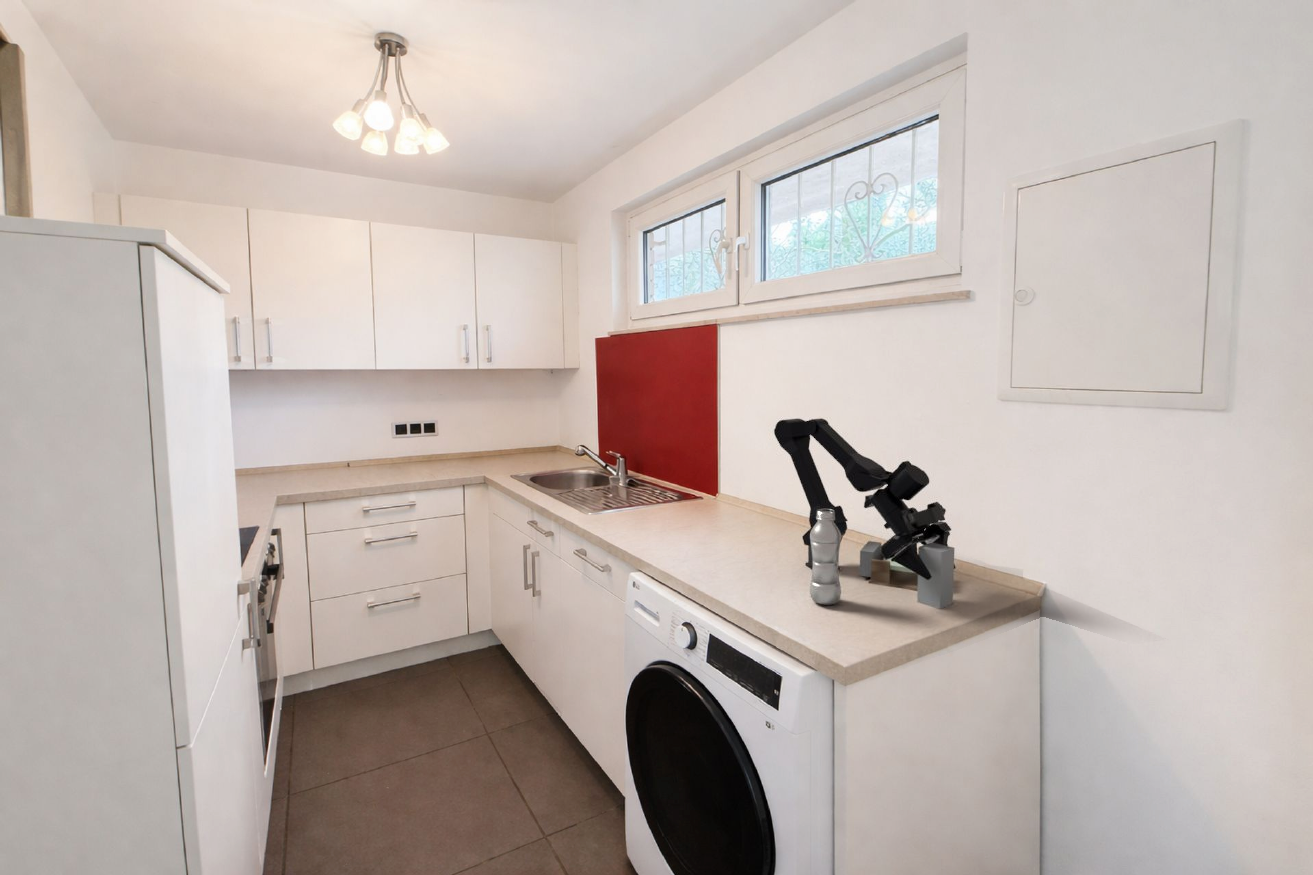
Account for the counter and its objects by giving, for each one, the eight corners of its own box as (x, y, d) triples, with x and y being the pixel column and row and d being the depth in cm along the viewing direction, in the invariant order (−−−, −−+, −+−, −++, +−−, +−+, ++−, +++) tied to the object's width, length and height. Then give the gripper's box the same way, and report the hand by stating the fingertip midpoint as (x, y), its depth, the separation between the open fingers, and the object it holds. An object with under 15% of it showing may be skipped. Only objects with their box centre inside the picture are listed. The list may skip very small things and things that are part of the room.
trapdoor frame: (868, 582, 141) (868, 559, 141) (879, 568, 151) (879, 546, 151) (942, 594, 133) (942, 569, 133) (948, 578, 143) (948, 555, 143)
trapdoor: (859, 575, 144) (860, 550, 143) (868, 564, 151) (868, 541, 151) (933, 586, 135) (933, 560, 135) (938, 574, 143) (938, 549, 142)
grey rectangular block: (917, 601, 129) (918, 546, 128) (930, 596, 132) (931, 542, 131) (939, 609, 125) (941, 552, 124) (952, 603, 128) (954, 547, 127)
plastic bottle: (846, 601, 131) (847, 509, 128) (832, 611, 126) (832, 515, 123) (818, 594, 135) (819, 505, 133) (803, 603, 130) (804, 511, 128)
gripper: (894, 497, 124) (945, 563, 116) (943, 485, 135) (993, 544, 127) (860, 527, 131) (906, 591, 124) (910, 513, 142) (955, 571, 134)
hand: (942, 573), depth 127 cm, fingers open, 9 cm apart
